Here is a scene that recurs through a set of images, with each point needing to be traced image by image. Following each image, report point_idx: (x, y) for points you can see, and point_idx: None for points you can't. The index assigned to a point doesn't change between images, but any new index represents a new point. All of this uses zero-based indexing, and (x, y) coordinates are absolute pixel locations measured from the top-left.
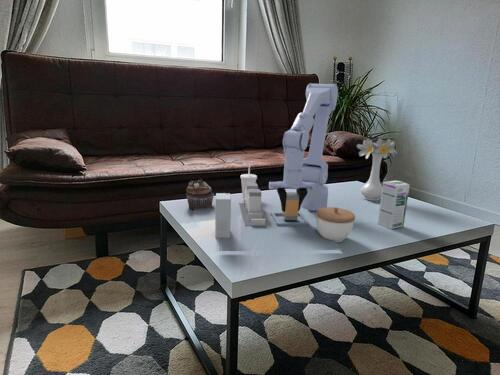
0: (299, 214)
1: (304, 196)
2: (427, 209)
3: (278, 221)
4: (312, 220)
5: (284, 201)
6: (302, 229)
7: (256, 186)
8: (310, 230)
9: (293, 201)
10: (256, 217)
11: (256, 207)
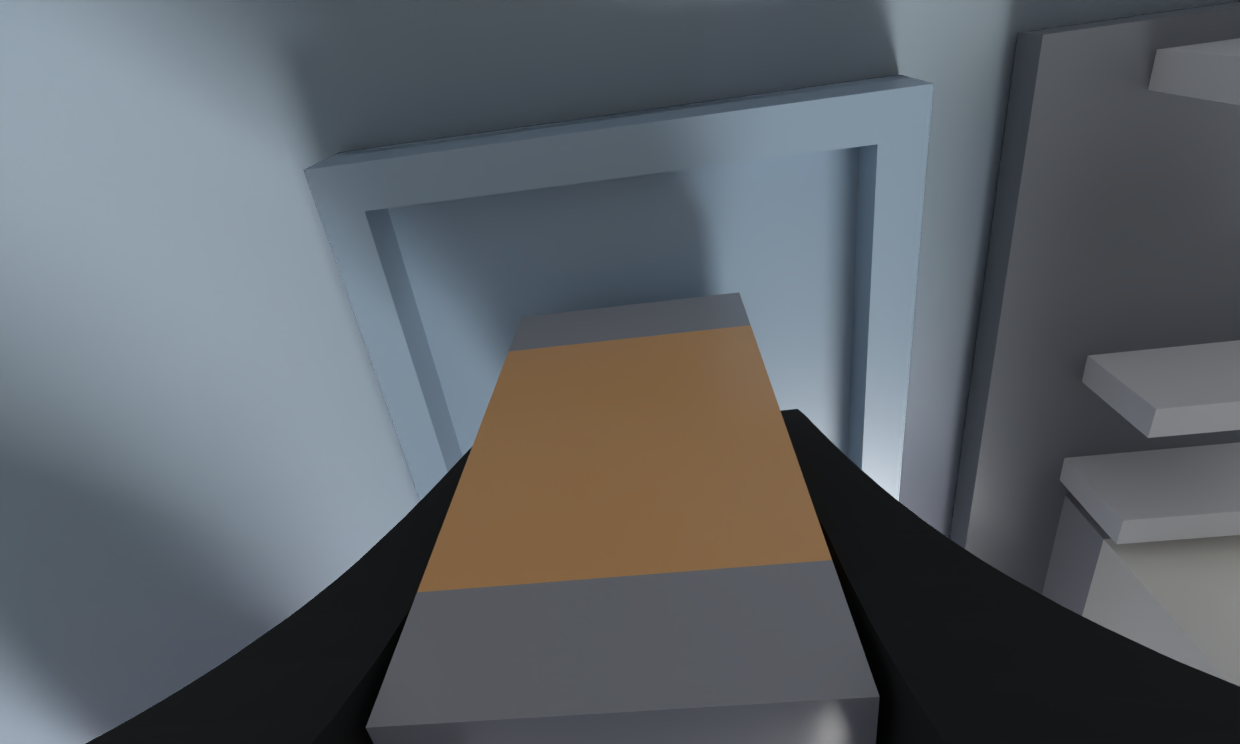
0: None
1: (174, 707)
2: None
3: (876, 202)
4: (309, 457)
5: (865, 541)
6: (447, 68)
7: None
8: (307, 35)
9: (591, 543)
10: (1217, 360)
11: (1230, 588)
